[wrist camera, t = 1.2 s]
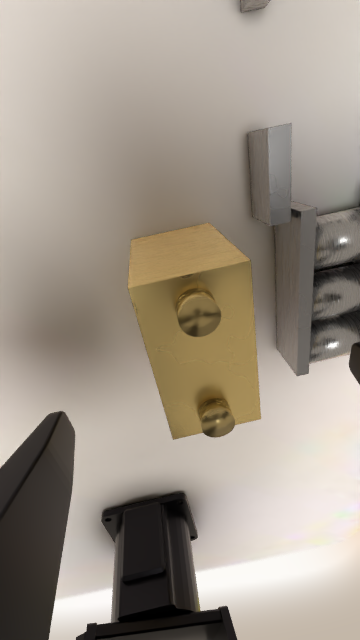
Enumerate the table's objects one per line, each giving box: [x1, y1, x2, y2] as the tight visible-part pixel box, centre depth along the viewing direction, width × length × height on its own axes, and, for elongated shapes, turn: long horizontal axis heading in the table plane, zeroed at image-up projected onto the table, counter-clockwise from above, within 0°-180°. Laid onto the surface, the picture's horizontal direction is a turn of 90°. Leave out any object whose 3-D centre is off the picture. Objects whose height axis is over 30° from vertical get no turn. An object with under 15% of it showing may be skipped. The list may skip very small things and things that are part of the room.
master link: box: [128, 223, 261, 440], centre depth 12 cm, size 6×4×6 cm, turn 11°
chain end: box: [248, 123, 360, 376], centre depth 13 cm, size 11×7×2 cm, turn 11°
